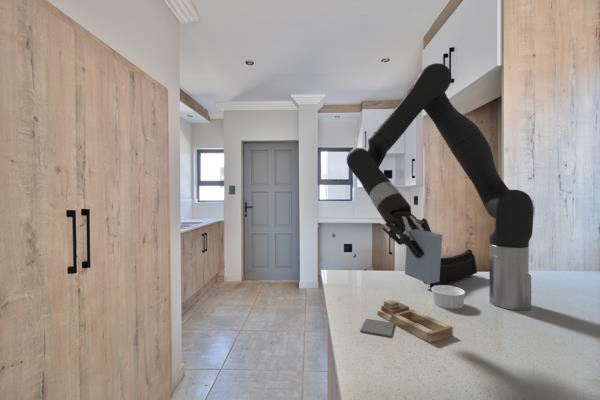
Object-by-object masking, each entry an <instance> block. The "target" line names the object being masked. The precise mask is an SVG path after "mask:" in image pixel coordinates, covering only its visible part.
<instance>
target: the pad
mask: <svg viewBox="0 0 600 400" xmlns="http://www.w3.org/2000/svg"><path fill="white" fill-rule="evenodd" d="M394 328H395V324H394V323H392V321H386V320H378V319H371V318H365V320H364V322H363V324H362V326H361V328H360V331H359V332H360V333H364V334H371V335H376V336H382V337H386V338H392V336H393V332H394Z"/></svg>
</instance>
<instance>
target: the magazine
mask: <svg viewBox="0 0 600 400" xmlns="http://www.w3.org/2000/svg"><path fill="white" fill-rule="evenodd" d="M475 257H476V256H475V255H474V253H473V251H472V249H469V248H468V249H466V250H465V251H464V252H462V253H460V254H459V253H458V254H456V255H453V256H448V257H447V256H445V257H441V263H440V279H439V282H435V283H431V284H428V283H425V282H423V281H421V282H423V284H426V285H429V288H430V289H431V288H432V287H433V286H437V285H452V284H455V283H458V282H462V281H463V280H466V279H468V278H470V277H472V276H474V275H475V274H478V269H477V268H478V267H477V263H476V258H475Z"/></svg>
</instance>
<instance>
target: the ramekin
mask: <svg viewBox="0 0 600 400" xmlns="http://www.w3.org/2000/svg"><path fill="white" fill-rule="evenodd" d="M430 289H431V293H432V301H433V303H434V305H435V306H438V307H440V308H443V309H450V310H458V309H459V308H460V309H462V308H463V307H464V305H465V295H466V291H465V290H464V289H463V288H460V287H456V286H452V285H448V284H446V285H434V286H433V287H432V288H431V287H430Z"/></svg>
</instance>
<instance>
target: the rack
mask: <svg viewBox="0 0 600 400" xmlns="http://www.w3.org/2000/svg"><path fill="white" fill-rule="evenodd" d="M377 315H378V316H379V317H381V318H383V319H384V320H387V322H391V323H394V326H397V327H399V328H401V329H403V330H405V331H406V332H409V333H410V334H412V335H414V336H416V337H418V338H419V339H422V340H423V341H425V342H426V343H428V344H432V343H436V342H438V341H441V340H444V339H448V338H450V337H452V336H454V335H453V334H454V333H453V332H454V330H453V329H454V327H453V326H451V325H449V324H447V323H444V322H442V321H439V320H437V319H435V318H434V317H431V316H428V315H426V314H424V313H421V312H419V311H417V310H415V309H410V306H408V305H405V304H403V303H401V302H399V301H397V300H394V299H389V300H384V301H383V305H381V307H380V309H378V310H377ZM426 327H427V328H426Z"/></svg>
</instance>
